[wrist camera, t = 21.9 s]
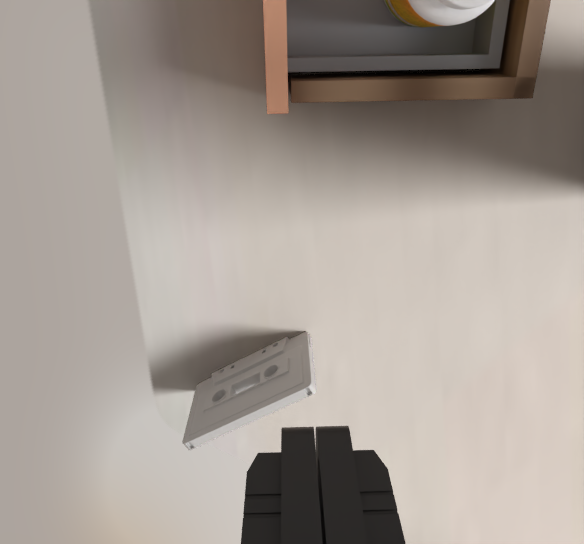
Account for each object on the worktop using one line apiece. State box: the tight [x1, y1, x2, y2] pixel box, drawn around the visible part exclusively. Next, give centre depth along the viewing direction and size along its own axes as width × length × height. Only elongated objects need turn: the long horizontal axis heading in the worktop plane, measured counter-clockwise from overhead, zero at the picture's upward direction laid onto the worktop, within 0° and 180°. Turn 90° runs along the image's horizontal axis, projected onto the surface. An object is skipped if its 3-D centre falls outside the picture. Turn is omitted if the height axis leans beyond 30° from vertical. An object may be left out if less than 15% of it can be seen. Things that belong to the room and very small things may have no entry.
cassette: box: [183, 332, 316, 450], centre depth 42 cm, size 12×2×8 cm, turn 120°
